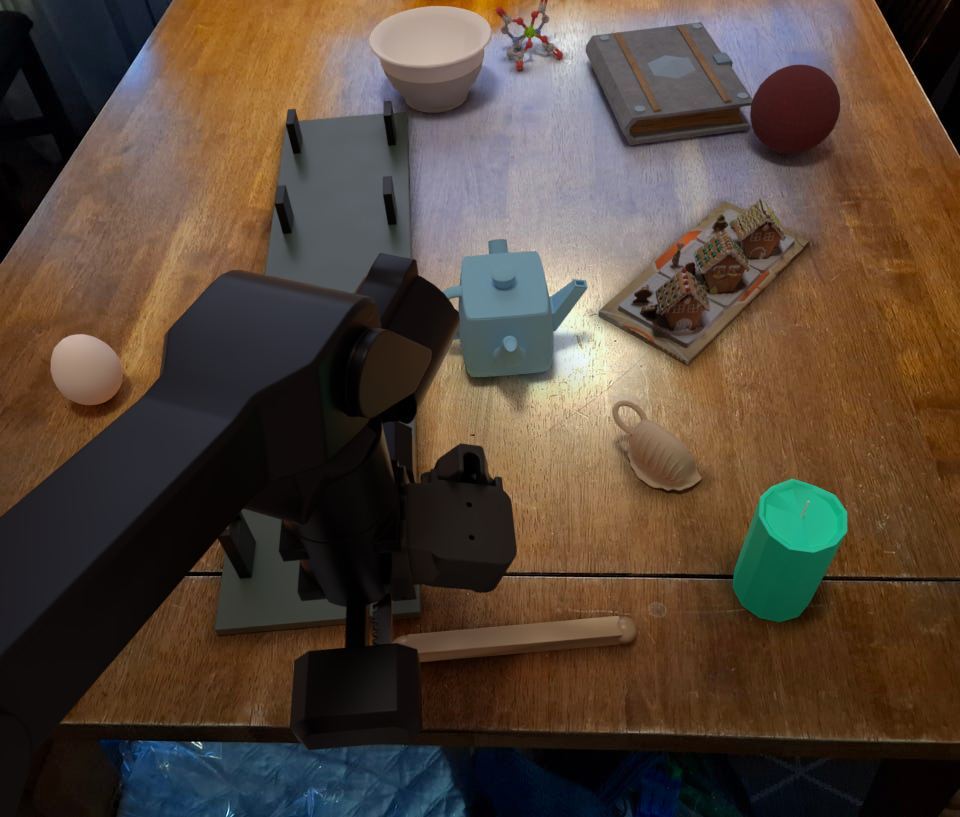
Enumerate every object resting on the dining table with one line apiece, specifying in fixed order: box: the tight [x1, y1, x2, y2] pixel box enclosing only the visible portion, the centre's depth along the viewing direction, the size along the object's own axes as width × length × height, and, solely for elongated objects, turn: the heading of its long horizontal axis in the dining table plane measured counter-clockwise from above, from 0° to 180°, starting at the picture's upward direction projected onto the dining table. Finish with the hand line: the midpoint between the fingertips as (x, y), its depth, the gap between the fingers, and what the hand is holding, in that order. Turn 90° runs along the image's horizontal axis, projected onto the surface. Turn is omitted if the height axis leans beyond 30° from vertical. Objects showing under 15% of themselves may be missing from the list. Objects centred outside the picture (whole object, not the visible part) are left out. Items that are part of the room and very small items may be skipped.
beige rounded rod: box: [392, 615, 638, 663], centre depth 64 cm, size 2×19×2 cm, turn 94°
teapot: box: [442, 238, 588, 378], centre depth 81 cm, size 18×14×10 cm
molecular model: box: [495, 0, 564, 71], centre depth 119 cm, size 7×8×8 cm
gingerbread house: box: [598, 197, 811, 366], centre depth 87 cm, size 11×23×7 cm, turn 137°
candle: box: [732, 478, 848, 623], centre depth 62 cm, size 6×6×12 cm
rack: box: [214, 100, 422, 636], centre depth 87 cm, size 72×16×8 cm, turn 4°
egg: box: [50, 333, 124, 406], centre depth 81 cm, size 6×6×8 cm
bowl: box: [368, 5, 493, 114], centre depth 113 cm, size 16×16×9 cm
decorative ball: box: [749, 64, 841, 155], centre depth 100 cm, size 10×10×10 cm
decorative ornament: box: [611, 399, 703, 492], centre depth 73 cm, size 4×8×5 cm, turn 38°
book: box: [585, 22, 753, 146], centre depth 111 cm, size 21×16×5 cm
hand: (382, 633), depth 53 cm, fingers open, 9 cm apart
